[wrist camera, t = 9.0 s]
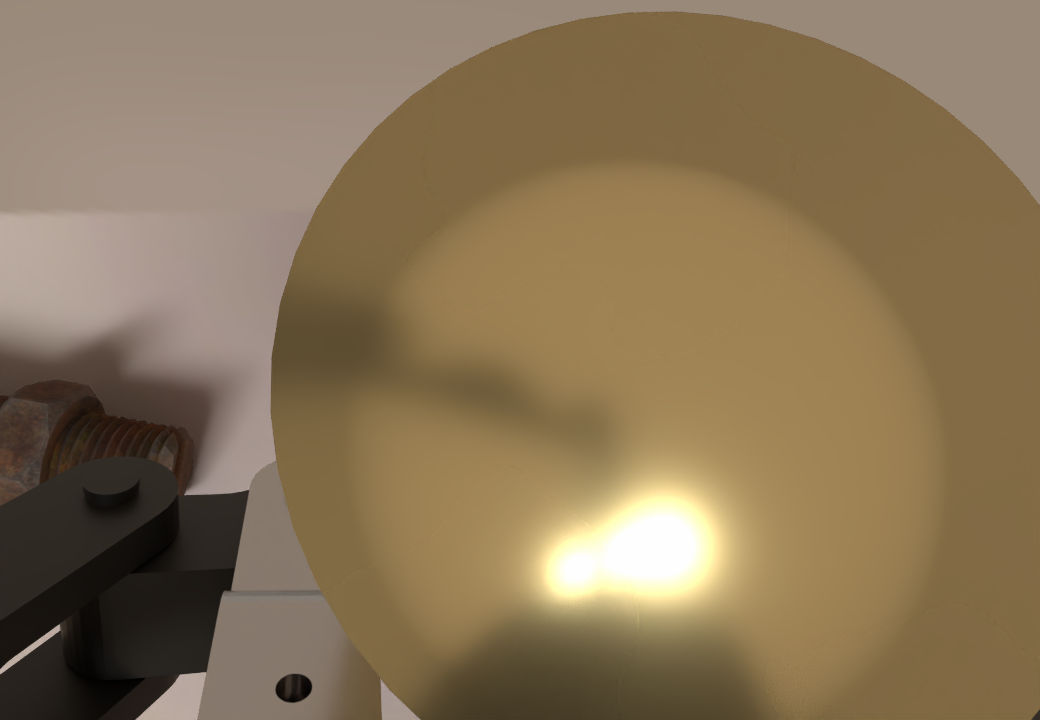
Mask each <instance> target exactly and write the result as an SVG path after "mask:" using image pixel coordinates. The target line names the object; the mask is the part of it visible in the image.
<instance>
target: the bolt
mask: <svg viewBox="0 0 1040 720" xmlns="http://www.w3.org/2000/svg"><path fill="white" fill-rule="evenodd" d="M193 445H194V444H193V440H192V439H191V438H190V437H189V436H188V433H187V431H186V430H185V429H184V428H181V427H180V428H178V429H176V428H175V427H174V426H169V427H166V425H157V424H155V423H150V424H147V422H146V421H140V422H137V420H136V419H133V420H128V419H126V418H124V417H121V418H118V417H117V416H108V415H105V412H104V409H103V406H102V404H101V402H100V401H99V399H98V398H97V397H96V395H95V394H94V393H93V391H92V390H91V389H90V387H89V386H88V385H82V384H77V383H71V382H65V381H60V380H53V381H46V382H40V383H36V384H32V385H28V386H25V387H23V388H21V389H20V390H18V391H17V392H15V393H14V394H13V395H11V396H10V397H7V396H0V506H1V505H3V504H5V503H7V502H9V501H10V500H12V499H14V498H16V497H18V496H20V495H22V494H23V493H25V492H27V491H29V490H31V489H33V488H34V487H36V486H38V485H40V484H42V483H44V482H45V481H47V480H49V479H51V478H53V477H55V476H56V475H58V474H60V473H62V472H64V471H66V470H68V469H70V468H72V467H74V466H76V465H79V464H82V463H85V462H88V461H92V460H96V459H101V458H108V457H138V458H144V459H148V460H152V461H155V462H158V463H160V464H162V465H164V466H165V467H167V468H168V469H169V470H171V471H172V472H173V474H174V475H175V476H176V478H177V481H178V494H179V495H184V494H185V491H186V488H187V485H188V482H189V479H190V475H191V470H192V463H193Z"/></svg>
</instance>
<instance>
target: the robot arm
mask: <svg viewBox="0 0 1040 720" xmlns="http://www.w3.org/2000/svg"><path fill="white" fill-rule="evenodd" d="M59 624H60V630H61V631H59V632H58V633H56V634H55V635H54V636H52V637H51V638H50V639H48V640H47V641H46V642H44V643H43V644H41V645H40V646H39V647H37V648H36V649H35V650H33V651H32V652H30V653H29V654H28V655H26V656H25V657H24V658H22V659H21V660H20V661H18V662H17V663H15V664H14V665H13V666H11V667H10V668H9V669H7V670H6V671H5V672H3V673H2V674H0V720H135V719H136V718H138V717H139V716H140V715H141V714H142V713H143V712H144V711H145V710H146V709H147V708H148V707H150V706H151V705H152V704H153V703H154V702H155V701H156V700H157V699H158V698H159V697H160V696H161V695H163V694H164V693H165V692H166V691H167V690H168V689H169V688H170V687H171V686H172V685H173V684H174V682H175V681H176V679H177V678H178V677H179V675H180V674H190V673H201V672H207V673H206V678H205V683H204V688H203V693H202V699H201V704H200V709H199V714H198V719H197V720H382V712H381V685H380V677H379V676H378V675H377V673H376V672H375V671H374V670H373V668H372V667H371V666H370V665H369V663H368V662H367V661H366V660H365V658H364V657H363V656H362V655H361V653H360V652H359V651H358V650H357V648H356V647H355V646H354V644H353V643H352V642H351V641H350V639H349V638H348V636H347V635H346V633H345V631H344V629H343V628H342V626H341V624H340V623H339V621H338V619H337V618H336V616H335V614H334V613H333V611H332V609H331V608H330V606H329V604H328V602H327V601H326V599H325V597H324V596H323V594H322V592H321V591H320V589H319V587H318V586H317V584H316V581H315V579H314V577H313V574H312V572H311V569H310V567H309V565H308V562H307V560H306V557H305V555H304V553H303V550H302V548H301V546H300V543H299V541H298V538H297V536H296V534H295V531H294V529H293V526H292V522H291V518H290V515H289V511H288V507H287V503H286V499H285V496H284V492H283V488H282V484H281V481H280V477H279V473H278V469H277V461H275V462H273V463H271V464H269V465H267V466H265V467H264V468H263V469H261V470H260V471H259V472H258V473H257V474H256V475H255V477H254V478H253V480H252V482H251V485H250V490H247V491H243V492H237V493H231V494H213V495H179V494H178V481H177V478H176V476H175V475H174V474H173V472H172V471H171V470H169V469H168V468H167V467H165V466H164V465H162V464H160V463H158V462H155V461H152V460H148V459H144V458H138V457H108V458H101V459H96V460H92V461H88V462H85V463H82V464H79V465H76V466H74V467H72V468H70V469H68V470H66V471H64V472H62V473H60V474H58V475H56V476H55V477H53V478H51V479H49V480H47V481H45V482H44V483H42V484H40V485H38V486H36V487H34V488H33V489H31V490H29V491H27V492H25V493H23V494H22V495H20V496H18V497H16V498H14V499H12V500H10V501H9V502H7V503H5V504H3V505H1V506H0V669H1V668H2V667H3V666H4V665H5V664H6V663H7V662H8V661H9V660H11V659H12V658H13V657H15V656H16V655H17V654H19V653H20V652H21V651H23V650H24V649H26V648H27V647H28V646H30V645H31V644H32V643H34V642H35V641H37V640H38V639H39V638H41V637H42V636H44V635H45V634H46V633H48V632H49V631H50V630H52V629H53V628H55V627H56V626H57V625H59ZM1031 720H1040V709H1039V711H1038V712H1037V713H1036V714H1035V716H1034V717H1033V718H1032V719H1031Z"/></svg>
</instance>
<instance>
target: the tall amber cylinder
mask: <svg viewBox="0 0 1040 720" xmlns="http://www.w3.org/2000/svg"><path fill="white" fill-rule="evenodd" d="M271 419H272V427H273V436H274V444H275V452H276V460H277V469H278V473H279V477H280V481H281V484H282V488H283V492H284V496H285V499H286V503H287V507H288V511H289V515H290V518H291V522H292V526H293V529H294V531H295V534H296V536H297V538H298V541H299V543H300V546H301V548H302V550H303V553H304V555H305V557H306V560H307V562H308V565H309V567H310V569H311V572H312V574H313V577H314V579H315V581H316V584H317V586H318V587H319V589H320V591H321V592H322V594H323V596H324V597H325V599H326V601H327V602H328V604H329V606H330V608H331V609H332V611H333V613H334V614H335V616H336V618H337V619H338V621H339V623H340V624H341V626H342V628H343V629H344V631H345V633H346V635H347V636H348V638H349V639H350V641H351V642H352V643H353V644H354V646H355V647H356V648H357V650H358V651H359V652H360V653H361V655H362V656H363V657H364V658H365V660H366V661H367V662H368V663H369V665H370V666H371V667H372V668H373V670H374V671H375V672H376V673H377V675H378V676H379V677H380V678H381V680H382V681H383V682H384V683H385V685H386V686H387V687H388V688H389V690H390V691H391V692H392V693H393V694H394V695H395V696H397V697H398V698H399V699H400V700H401V701H402V702H403V703H404V704H405V705H406V706H407V707H408V708H409V709H410V710H411V711H412V712H413V713H414V714H415V715H416V716H418V717H419V718H420V719H421V720H1031V719H1032V718H1033V717H1034V716H1035V714H1036V713H1037V712H1038V711H1039V709H1040V205H1039V204H1038V203H1037V202H1036V200H1035V199H1034V198H1033V196H1032V195H1031V194H1030V192H1029V191H1028V190H1027V189H1026V187H1025V186H1024V185H1023V183H1022V182H1021V181H1020V179H1019V178H1018V177H1017V176H1016V175H1015V174H1014V173H1013V172H1012V171H1011V170H1010V169H1009V168H1008V167H1007V166H1006V165H1005V164H1004V162H1003V161H1002V160H1001V159H1000V158H999V157H998V156H997V155H996V154H995V153H994V152H993V151H992V150H991V149H990V148H989V147H988V146H987V145H986V144H985V143H984V142H983V141H982V140H981V139H980V138H979V137H977V136H976V135H975V134H974V133H973V132H972V131H970V130H969V129H968V128H967V127H966V126H964V125H963V124H962V123H961V122H960V121H958V120H957V119H956V118H955V117H954V116H953V115H952V114H950V113H949V112H948V111H947V110H946V109H944V108H943V107H941V106H940V105H939V104H937V103H936V102H934V101H933V100H931V99H930V98H928V97H927V96H925V95H924V94H922V93H921V92H920V91H918V90H917V89H915V88H914V87H912V86H911V85H909V84H908V83H906V82H905V81H903V80H901V79H900V78H897V77H896V76H894V75H892V74H890V73H889V72H887V71H885V70H883V69H881V68H879V67H877V66H876V65H874V64H872V63H870V62H868V61H867V60H865V59H863V58H861V57H858V56H856V55H854V54H851V53H849V52H847V51H844V50H842V49H840V48H837V47H835V46H832V45H830V44H827V43H825V42H823V41H820V40H818V39H816V38H812V37H809V36H805V35H802V34H799V33H796V32H792V31H789V30H786V29H782V28H779V27H776V26H772V25H769V24H764V23H758V22H753V21H748V20H742V19H737V18H732V17H727V16H720V15H709V14H697V13H685V12H641V13H640V12H637V13H622V14H615V15H607V16H600V17H593V18H585V19H579V20H575V21H571V22H567V23H563V24H559V25H555V26H551V27H547V28H544V29H539V30H536V31H533V32H530V33H528V34H525V35H522V36H520V37H517V38H514V39H512V40H509V41H507V42H504V43H501V44H499V45H496V46H494V47H491V48H489V49H488V50H485V51H484V52H482V53H480V54H478V55H476V56H474V57H472V58H470V59H468V60H466V61H464V62H462V63H461V64H459V65H457V66H455V67H453V68H451V69H449V70H448V71H446V72H445V73H444V74H442V75H441V76H439V77H438V78H437V79H435V80H434V81H432V82H431V83H429V84H428V85H426V86H425V87H424V88H422V89H421V90H419V91H418V92H416V93H415V94H413V95H412V96H411V97H410V98H409V99H407V100H406V101H405V102H404V103H403V104H402V105H401V106H400V107H399V108H397V109H396V110H395V111H394V112H393V113H392V114H391V115H390V116H389V117H387V118H386V119H385V120H384V121H383V122H382V123H381V124H380V125H379V126H377V127H376V128H375V129H374V131H373V132H372V133H371V134H370V135H369V136H368V138H367V139H366V140H365V141H364V142H363V144H362V145H361V146H360V147H359V148H358V149H357V151H356V152H355V153H354V154H353V155H352V157H351V158H350V159H349V160H348V161H347V163H345V165H344V166H343V168H342V169H341V171H340V173H339V174H338V175H337V177H336V178H335V180H334V182H333V183H332V185H331V186H330V188H329V189H328V191H327V192H326V194H325V196H324V197H323V199H322V200H321V202H320V204H319V205H318V206H317V208H316V210H315V213H314V215H313V217H312V219H311V221H310V223H309V225H308V228H307V230H306V232H305V234H304V236H303V238H302V241H301V243H300V245H299V247H298V249H297V251H296V254H295V257H294V260H293V263H292V267H291V270H290V273H289V276H288V280H287V283H286V286H285V289H284V293H283V296H282V299H281V303H280V308H279V314H278V321H277V327H276V333H275V339H274V346H273V352H272V369H271Z"/></svg>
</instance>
